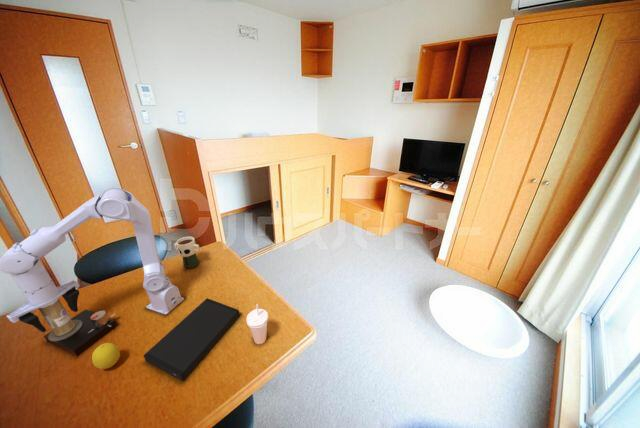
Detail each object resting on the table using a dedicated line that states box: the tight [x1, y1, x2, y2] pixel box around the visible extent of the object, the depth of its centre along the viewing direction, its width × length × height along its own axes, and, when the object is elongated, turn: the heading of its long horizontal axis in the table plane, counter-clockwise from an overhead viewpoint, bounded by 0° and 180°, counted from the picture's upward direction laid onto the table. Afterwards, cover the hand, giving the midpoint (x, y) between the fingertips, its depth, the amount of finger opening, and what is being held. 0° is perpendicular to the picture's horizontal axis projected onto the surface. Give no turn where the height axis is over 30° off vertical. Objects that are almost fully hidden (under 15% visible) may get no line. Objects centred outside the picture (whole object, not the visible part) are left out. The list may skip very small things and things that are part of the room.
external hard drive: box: [143, 298, 240, 382], centre depth 74 cm, size 14×23×3 cm, turn 158°
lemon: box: [91, 342, 121, 370], centre depth 65 cm, size 6×6×8 cm
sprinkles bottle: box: [37, 297, 75, 336], centre depth 71 cm, size 5×5×13 cm
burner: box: [48, 320, 83, 342], centre depth 74 cm, size 8×8×1 cm
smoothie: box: [245, 303, 269, 345], centre depth 72 cm, size 6×6×14 cm
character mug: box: [173, 236, 201, 269], centre depth 105 cm, size 11×7×13 cm, turn 86°
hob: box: [43, 308, 118, 357], centre depth 76 cm, size 15×13×3 cm
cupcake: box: [91, 310, 110, 328], centre depth 75 cm, size 4×4×4 cm
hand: (59, 320), depth 72 cm, fingers open, 7 cm apart
